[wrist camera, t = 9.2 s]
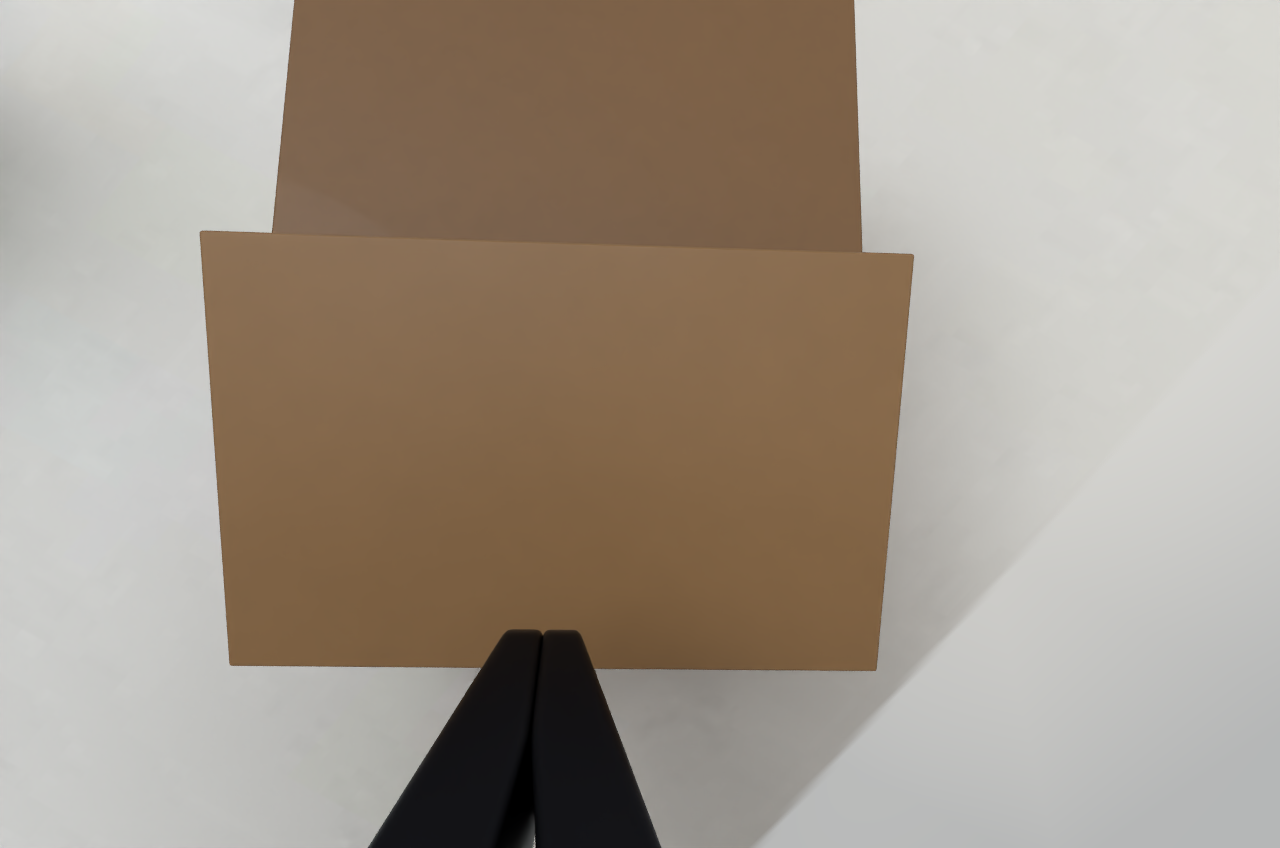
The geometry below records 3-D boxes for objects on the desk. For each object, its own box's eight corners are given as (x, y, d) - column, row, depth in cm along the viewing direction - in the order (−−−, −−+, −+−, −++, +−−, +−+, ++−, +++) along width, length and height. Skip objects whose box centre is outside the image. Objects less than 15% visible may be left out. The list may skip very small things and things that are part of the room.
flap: (870, 662, 12) (877, 671, 12) (238, 656, 12) (228, 666, 11) (906, 254, 11) (915, 254, 11) (210, 232, 10) (198, 229, 10)
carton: (752, 614, 22) (879, 673, 12) (402, 610, 21) (225, 668, 11) (749, 190, 24) (855, -68, 14) (429, 179, 23) (300, -96, 13)
